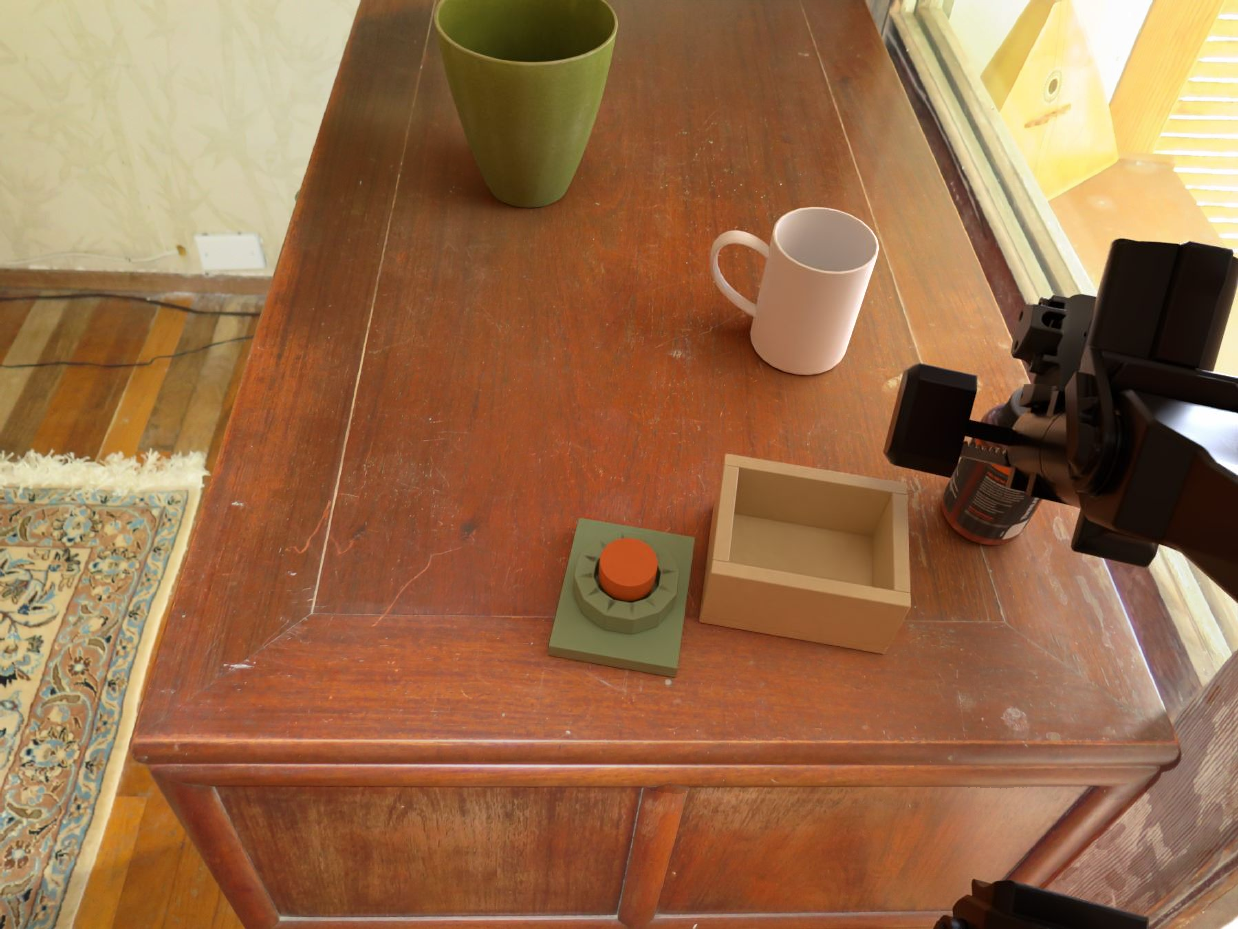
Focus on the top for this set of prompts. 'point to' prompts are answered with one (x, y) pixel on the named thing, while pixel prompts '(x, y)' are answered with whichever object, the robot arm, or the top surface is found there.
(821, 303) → the mug
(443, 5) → the flower pot
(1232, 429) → the robot arm
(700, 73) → the top surface
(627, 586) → the button
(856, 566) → the shallow tan tray box
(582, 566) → the control block
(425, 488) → the top surface
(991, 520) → the supplement bottle
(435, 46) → the top surface
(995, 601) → the top surface
